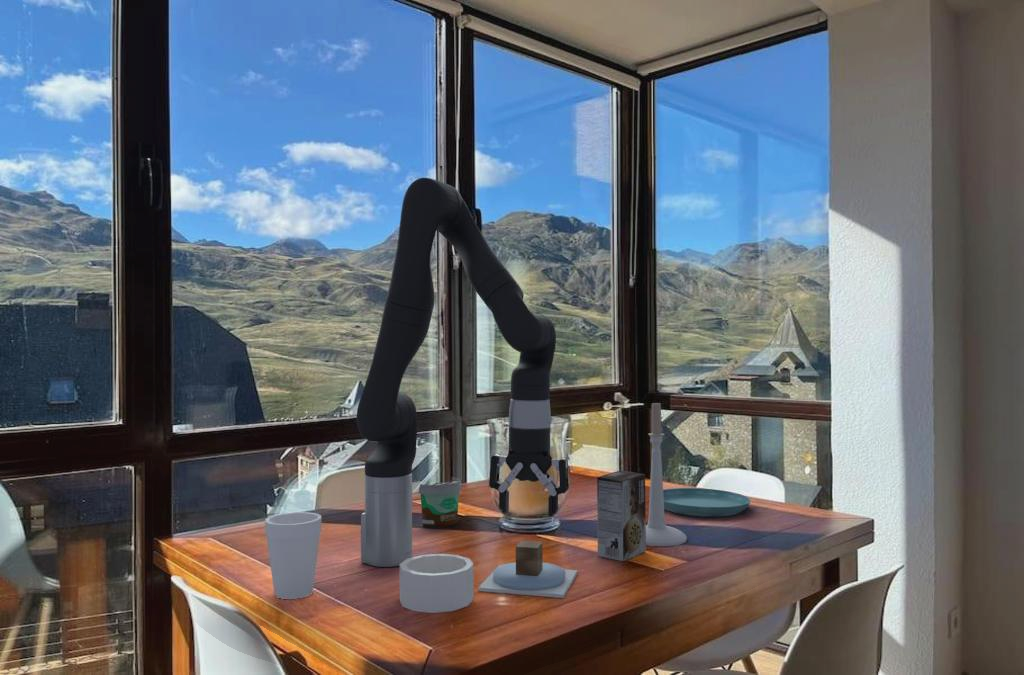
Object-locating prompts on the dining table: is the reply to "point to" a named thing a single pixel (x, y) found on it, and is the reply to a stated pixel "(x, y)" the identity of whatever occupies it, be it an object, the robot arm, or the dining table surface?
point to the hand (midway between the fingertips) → (528, 514)
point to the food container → (440, 503)
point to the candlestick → (659, 493)
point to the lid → (529, 570)
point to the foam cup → (293, 552)
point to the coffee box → (621, 515)
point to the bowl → (436, 583)
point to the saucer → (704, 502)
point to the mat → (552, 592)
